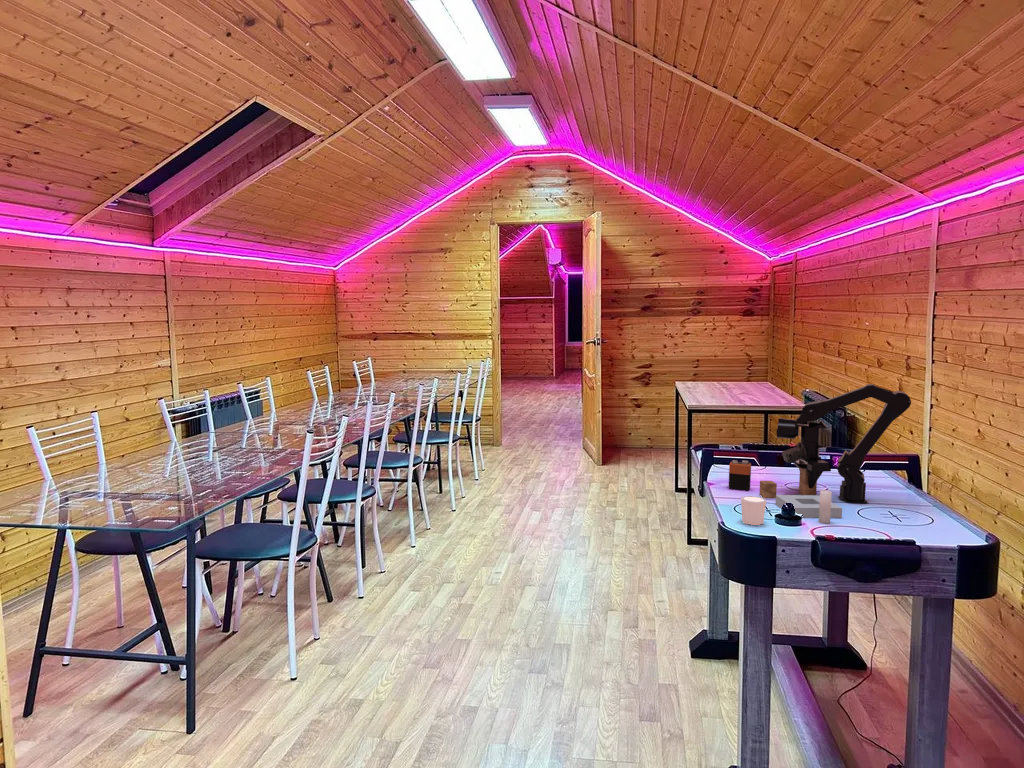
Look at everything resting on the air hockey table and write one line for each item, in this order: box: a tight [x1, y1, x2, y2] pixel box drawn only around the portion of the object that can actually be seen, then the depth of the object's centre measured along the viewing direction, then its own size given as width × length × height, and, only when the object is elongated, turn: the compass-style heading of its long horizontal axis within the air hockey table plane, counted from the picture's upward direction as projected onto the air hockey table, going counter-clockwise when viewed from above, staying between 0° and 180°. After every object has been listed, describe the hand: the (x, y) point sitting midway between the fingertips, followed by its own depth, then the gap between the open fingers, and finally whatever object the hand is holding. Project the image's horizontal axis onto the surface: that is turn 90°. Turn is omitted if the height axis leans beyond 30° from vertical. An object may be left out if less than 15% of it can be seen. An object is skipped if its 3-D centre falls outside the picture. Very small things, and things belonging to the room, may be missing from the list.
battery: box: [728, 459, 752, 492], centre depth 221 cm, size 4×7×10 cm, turn 64°
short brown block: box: [759, 480, 778, 499], centre depth 212 cm, size 4×4×5 cm
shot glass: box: [740, 495, 767, 526], centre depth 184 cm, size 7×7×7 cm
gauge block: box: [775, 489, 843, 525], centre depth 193 cm, size 14×20×9 cm
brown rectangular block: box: [798, 468, 818, 495], centre depth 213 cm, size 4×4×9 cm
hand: (807, 486), depth 213 cm, fingers closed on brown rectangular block, 4 cm apart
